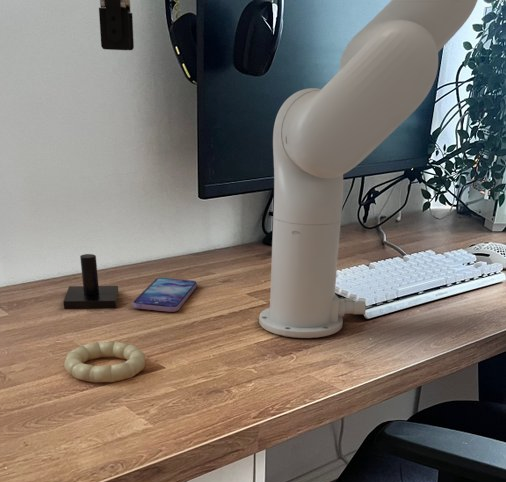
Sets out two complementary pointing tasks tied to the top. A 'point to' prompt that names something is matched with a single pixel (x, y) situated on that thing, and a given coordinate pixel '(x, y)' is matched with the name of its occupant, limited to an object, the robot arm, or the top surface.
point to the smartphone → (165, 294)
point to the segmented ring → (104, 372)
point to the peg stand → (90, 289)
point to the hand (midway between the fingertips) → (118, 49)
